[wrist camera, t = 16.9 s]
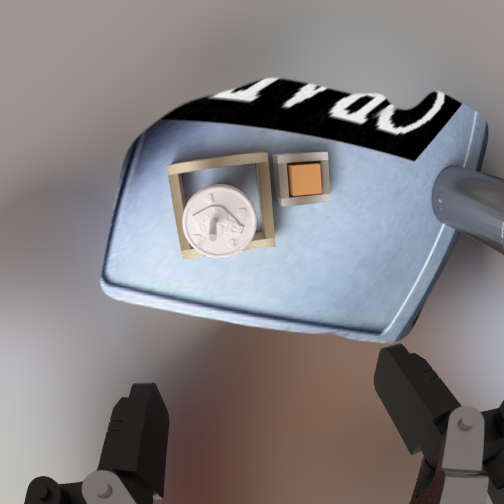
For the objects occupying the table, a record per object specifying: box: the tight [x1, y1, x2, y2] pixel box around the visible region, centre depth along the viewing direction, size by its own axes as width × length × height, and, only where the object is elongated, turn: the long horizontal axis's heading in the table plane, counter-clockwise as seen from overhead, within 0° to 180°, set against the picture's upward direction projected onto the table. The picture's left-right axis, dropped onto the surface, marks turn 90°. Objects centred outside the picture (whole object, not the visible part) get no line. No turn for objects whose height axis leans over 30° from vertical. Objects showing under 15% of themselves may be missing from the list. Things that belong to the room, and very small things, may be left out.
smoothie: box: [182, 184, 257, 258], centre depth 27 cm, size 6×6×14 cm
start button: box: [287, 162, 322, 196], centre depth 31 cm, size 3×3×2 cm
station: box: [167, 151, 330, 259], centre depth 33 cm, size 17×10×3 cm, turn 96°
